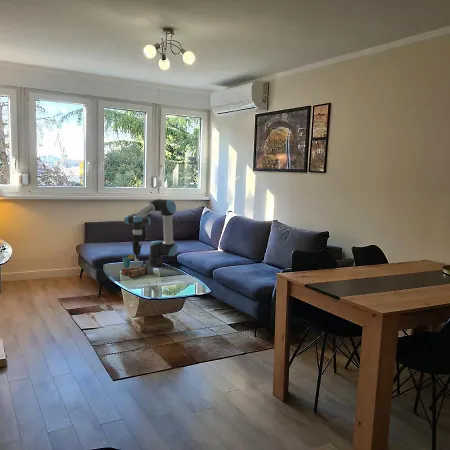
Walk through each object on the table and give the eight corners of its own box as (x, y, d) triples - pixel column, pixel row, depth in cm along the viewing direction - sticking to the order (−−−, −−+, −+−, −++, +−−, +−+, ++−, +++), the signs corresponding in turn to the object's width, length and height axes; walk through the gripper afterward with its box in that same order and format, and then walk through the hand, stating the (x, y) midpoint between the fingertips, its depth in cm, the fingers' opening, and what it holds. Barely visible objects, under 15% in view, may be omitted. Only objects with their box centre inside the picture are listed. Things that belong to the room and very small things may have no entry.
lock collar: (147, 270, 399) (147, 259, 398) (153, 272, 391) (153, 262, 390) (141, 270, 396) (141, 260, 394) (147, 273, 388) (147, 262, 386)
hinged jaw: (143, 273, 390) (143, 267, 389) (145, 273, 388) (146, 267, 388) (128, 276, 374) (129, 270, 374) (131, 277, 373) (131, 271, 372)
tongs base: (146, 271, 397) (146, 265, 396) (149, 272, 393) (149, 267, 392) (121, 274, 382) (121, 268, 382) (124, 275, 378) (124, 269, 377)
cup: (118, 271, 392) (118, 254, 390) (116, 269, 399) (117, 252, 397) (134, 270, 398) (134, 254, 396) (131, 268, 405) (132, 252, 403)
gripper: (129, 233, 368) (128, 260, 371) (136, 235, 358) (135, 264, 361) (137, 232, 373) (136, 260, 376) (145, 235, 363) (143, 263, 366)
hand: (136, 262), depth 368 cm, fingers closed
